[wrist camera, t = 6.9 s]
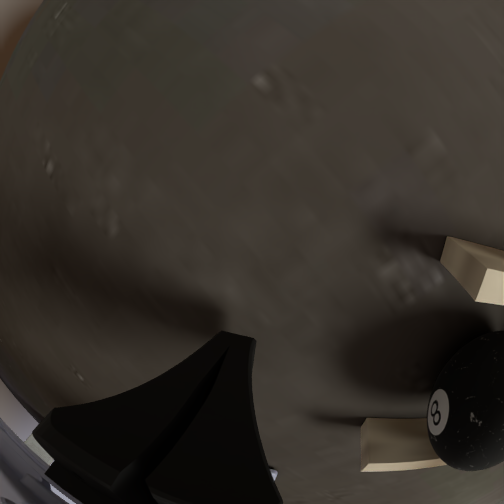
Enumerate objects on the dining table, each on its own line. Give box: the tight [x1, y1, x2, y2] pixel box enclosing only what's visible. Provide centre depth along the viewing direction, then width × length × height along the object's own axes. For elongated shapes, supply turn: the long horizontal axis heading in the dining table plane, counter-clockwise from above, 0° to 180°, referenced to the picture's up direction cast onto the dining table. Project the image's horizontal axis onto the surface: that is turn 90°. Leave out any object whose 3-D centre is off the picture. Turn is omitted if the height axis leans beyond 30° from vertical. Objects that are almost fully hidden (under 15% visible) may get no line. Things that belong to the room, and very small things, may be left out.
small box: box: [24, 434, 54, 465], centre depth 26 cm, size 8×6×10 cm
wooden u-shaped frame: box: [361, 236, 504, 472], centre depth 8 cm, size 10×11×3 cm
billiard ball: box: [427, 331, 504, 471], centre depth 7 cm, size 6×6×6 cm
